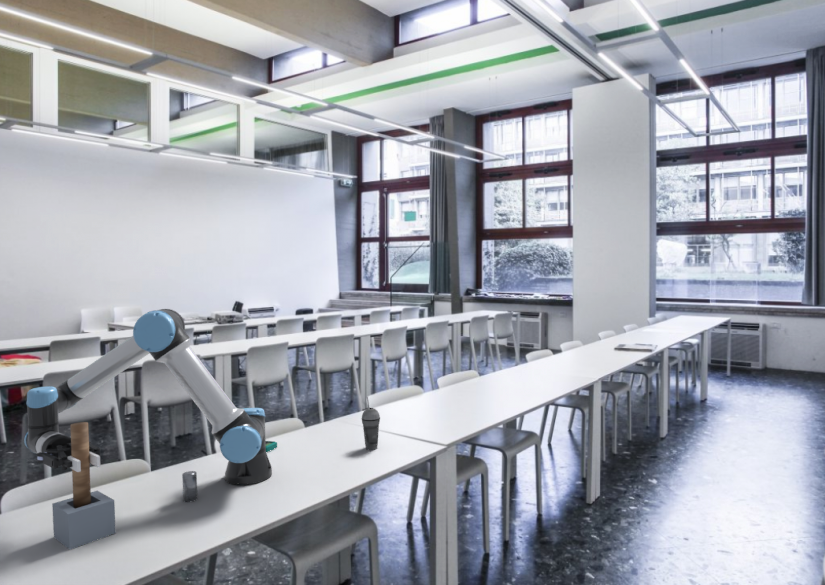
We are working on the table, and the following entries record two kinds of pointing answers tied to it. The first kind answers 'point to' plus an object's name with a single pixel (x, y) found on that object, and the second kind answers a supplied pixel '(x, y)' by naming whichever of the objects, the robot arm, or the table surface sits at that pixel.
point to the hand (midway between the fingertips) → (88, 464)
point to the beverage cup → (371, 427)
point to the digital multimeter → (270, 445)
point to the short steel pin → (189, 486)
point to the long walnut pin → (81, 453)
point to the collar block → (83, 520)
